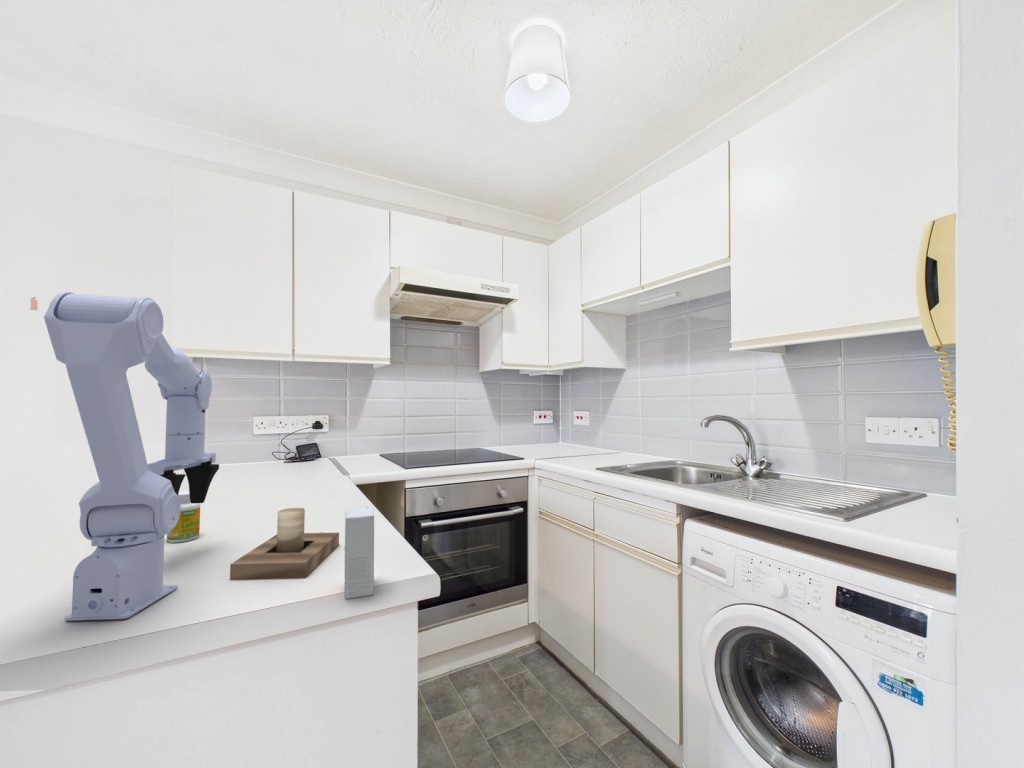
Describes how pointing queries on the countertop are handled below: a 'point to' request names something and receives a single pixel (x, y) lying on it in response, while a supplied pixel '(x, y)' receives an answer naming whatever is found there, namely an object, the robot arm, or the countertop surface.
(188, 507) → the supplement bottle
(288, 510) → the birch peg
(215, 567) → the countertop surface
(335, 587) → the countertop surface
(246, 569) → the socket block
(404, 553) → the countertop surface
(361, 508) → the skincare box
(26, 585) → the countertop surface
